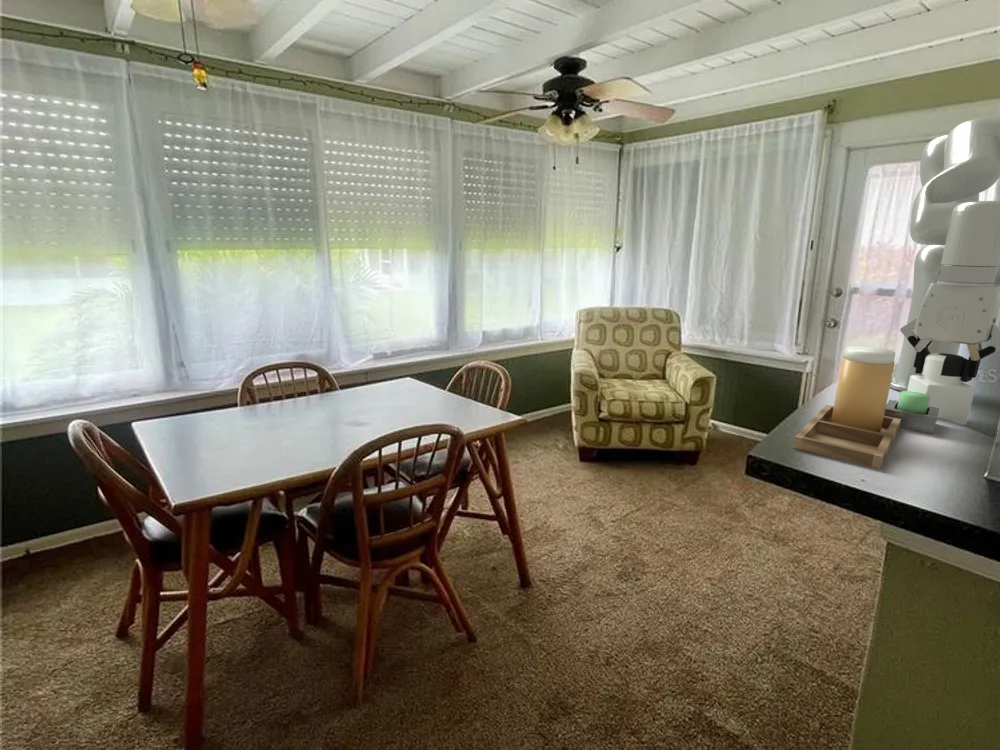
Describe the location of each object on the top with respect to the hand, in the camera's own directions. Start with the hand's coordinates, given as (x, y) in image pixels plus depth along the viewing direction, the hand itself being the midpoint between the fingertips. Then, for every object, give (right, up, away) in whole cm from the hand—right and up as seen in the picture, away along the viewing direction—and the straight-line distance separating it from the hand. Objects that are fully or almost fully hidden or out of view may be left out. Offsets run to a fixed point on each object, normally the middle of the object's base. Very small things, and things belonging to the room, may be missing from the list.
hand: (942, 375), depth 95 cm
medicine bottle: (0, -8, +2) cm, 8 cm away
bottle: (-21, -9, -7) cm, 24 cm away
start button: (-10, -7, -5) cm, 13 cm away
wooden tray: (-24, -11, -11) cm, 29 cm away
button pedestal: (-10, -9, -4) cm, 14 cm away
